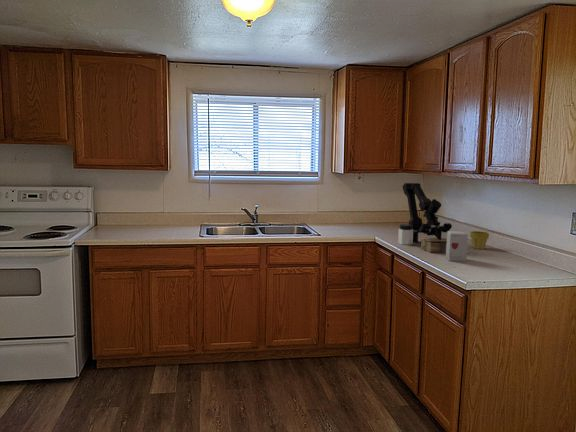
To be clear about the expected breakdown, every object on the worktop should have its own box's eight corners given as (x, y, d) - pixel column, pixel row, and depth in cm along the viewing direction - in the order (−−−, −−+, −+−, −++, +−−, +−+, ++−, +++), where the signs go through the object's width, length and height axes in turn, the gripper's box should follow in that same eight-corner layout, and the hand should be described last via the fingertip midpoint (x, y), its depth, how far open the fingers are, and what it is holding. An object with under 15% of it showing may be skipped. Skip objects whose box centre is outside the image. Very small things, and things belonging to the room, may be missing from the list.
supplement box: (448, 261, 258) (450, 233, 256) (445, 257, 267) (446, 230, 265) (466, 261, 257) (468, 233, 255) (462, 258, 265) (464, 231, 264)
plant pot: (479, 246, 302) (480, 230, 301) (491, 249, 292) (492, 233, 291) (465, 247, 298) (466, 231, 297) (478, 250, 289) (479, 234, 288)
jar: (398, 244, 304) (399, 225, 302) (397, 242, 312) (398, 223, 310) (412, 245, 302) (413, 226, 300) (412, 242, 310) (413, 224, 308)
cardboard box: (420, 248, 290) (421, 239, 289) (441, 248, 293) (442, 238, 292) (430, 253, 278) (431, 243, 278) (452, 252, 281) (453, 242, 281)
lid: (421, 239, 289) (421, 238, 289) (442, 238, 292) (442, 237, 292) (431, 241, 278) (431, 240, 278) (453, 241, 281) (453, 240, 281)
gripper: (440, 226, 299) (448, 247, 290) (412, 226, 295) (420, 247, 286) (447, 214, 291) (456, 236, 281) (419, 215, 287) (427, 236, 277)
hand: (440, 239), depth 282 cm, fingers closed, pressing on lid
